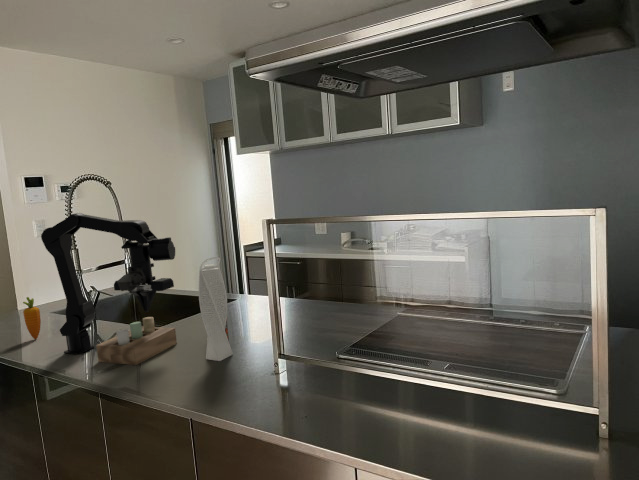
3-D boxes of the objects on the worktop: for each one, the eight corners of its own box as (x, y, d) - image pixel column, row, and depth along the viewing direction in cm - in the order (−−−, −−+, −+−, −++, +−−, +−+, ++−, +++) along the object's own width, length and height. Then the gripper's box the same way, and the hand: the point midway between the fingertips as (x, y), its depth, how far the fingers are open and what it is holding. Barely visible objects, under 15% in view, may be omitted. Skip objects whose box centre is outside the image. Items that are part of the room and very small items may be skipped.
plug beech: (142, 338, 156) (140, 319, 155) (149, 335, 159) (147, 316, 158) (151, 338, 155) (148, 320, 154) (157, 335, 158) (155, 317, 157)
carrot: (42, 339, 174) (36, 297, 172) (26, 342, 172) (19, 299, 171) (44, 336, 179) (38, 294, 177) (28, 338, 177) (22, 297, 175)
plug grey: (116, 352, 146) (113, 331, 145) (124, 348, 149) (122, 328, 148) (125, 352, 145) (122, 332, 144) (133, 348, 148) (130, 328, 147)
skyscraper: (219, 350, 148) (209, 256, 144) (239, 353, 144) (229, 256, 140) (200, 359, 141) (189, 261, 138) (220, 363, 137) (209, 262, 134)
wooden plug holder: (98, 361, 147) (96, 345, 146) (141, 341, 163) (139, 326, 162) (136, 364, 141) (134, 347, 141) (176, 343, 158) (175, 328, 157)
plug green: (130, 344, 151) (127, 324, 150) (137, 340, 154) (135, 321, 153) (138, 344, 150) (135, 325, 149) (145, 341, 153) (143, 322, 152)
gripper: (96, 267, 150) (103, 318, 152) (146, 266, 143) (153, 320, 145) (124, 260, 160) (130, 308, 162) (172, 259, 153) (177, 309, 155)
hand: (146, 311), depth 156 cm, fingers closed
